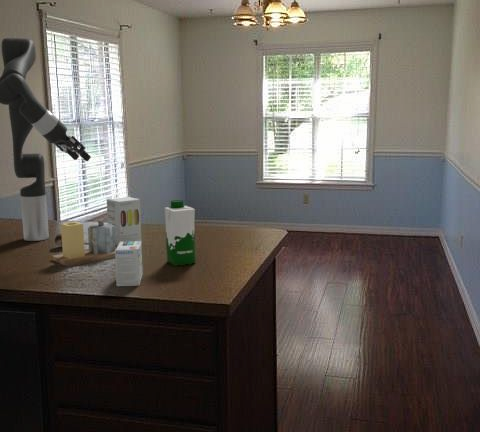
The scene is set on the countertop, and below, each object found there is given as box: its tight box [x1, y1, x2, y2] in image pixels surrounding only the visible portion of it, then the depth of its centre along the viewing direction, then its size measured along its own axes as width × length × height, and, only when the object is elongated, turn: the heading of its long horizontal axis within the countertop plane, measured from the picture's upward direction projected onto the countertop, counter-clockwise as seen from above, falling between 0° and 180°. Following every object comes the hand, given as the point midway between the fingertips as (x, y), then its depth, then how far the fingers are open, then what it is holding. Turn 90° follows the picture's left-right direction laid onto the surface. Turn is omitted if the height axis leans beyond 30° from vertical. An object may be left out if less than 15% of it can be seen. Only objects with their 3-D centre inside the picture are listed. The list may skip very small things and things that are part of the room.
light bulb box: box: [114, 240, 143, 287], centre depth 164 cm, size 11×7×11 cm, turn 5°
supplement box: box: [106, 196, 142, 247], centre depth 212 cm, size 10×9×17 cm
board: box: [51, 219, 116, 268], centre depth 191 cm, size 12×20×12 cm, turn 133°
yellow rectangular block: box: [60, 221, 86, 259], centre depth 187 cm, size 5×5×11 cm
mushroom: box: [54, 232, 62, 247], centre depth 207 cm, size 8×8×6 cm
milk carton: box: [164, 199, 196, 267], centre depth 183 cm, size 9×9×20 cm
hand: (82, 158), depth 197 cm, fingers open, 8 cm apart
